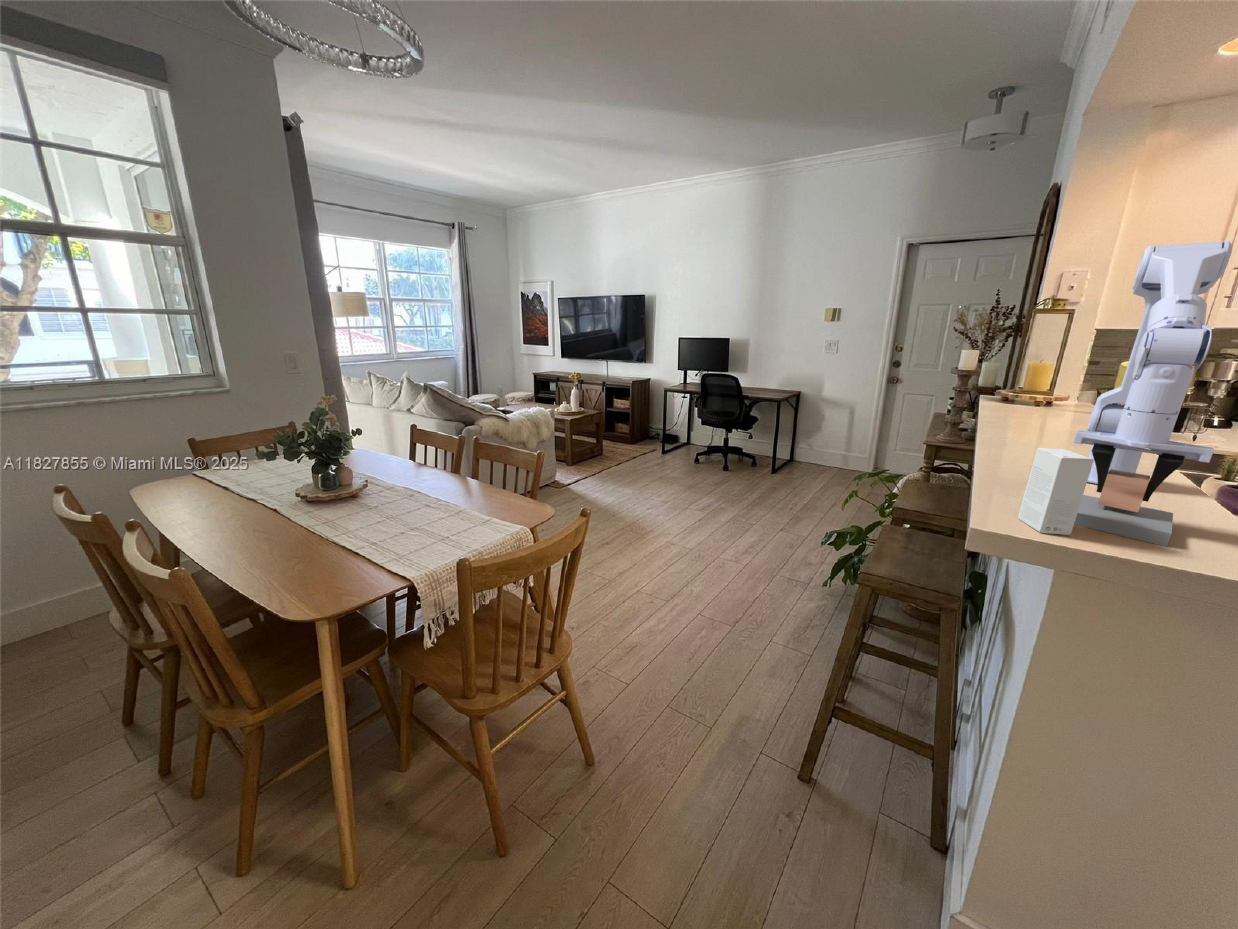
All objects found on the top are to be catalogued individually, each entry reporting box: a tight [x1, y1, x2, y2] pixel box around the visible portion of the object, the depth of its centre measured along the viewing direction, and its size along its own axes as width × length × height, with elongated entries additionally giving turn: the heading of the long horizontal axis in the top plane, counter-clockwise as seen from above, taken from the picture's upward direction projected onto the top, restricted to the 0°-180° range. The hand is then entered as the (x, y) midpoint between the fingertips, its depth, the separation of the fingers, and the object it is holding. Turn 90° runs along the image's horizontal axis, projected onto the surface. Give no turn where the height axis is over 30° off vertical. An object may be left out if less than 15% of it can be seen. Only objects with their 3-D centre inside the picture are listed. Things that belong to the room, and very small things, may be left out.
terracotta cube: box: [1098, 469, 1151, 512], centre depth 76 cm, size 4×4×5 cm
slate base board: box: [1074, 494, 1174, 547], centre depth 76 cm, size 12×12×2 cm
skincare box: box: [1017, 447, 1094, 536], centre depth 73 cm, size 6×4×12 cm
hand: (1121, 495), depth 76 cm, fingers closed on terracotta cube, 4 cm apart
